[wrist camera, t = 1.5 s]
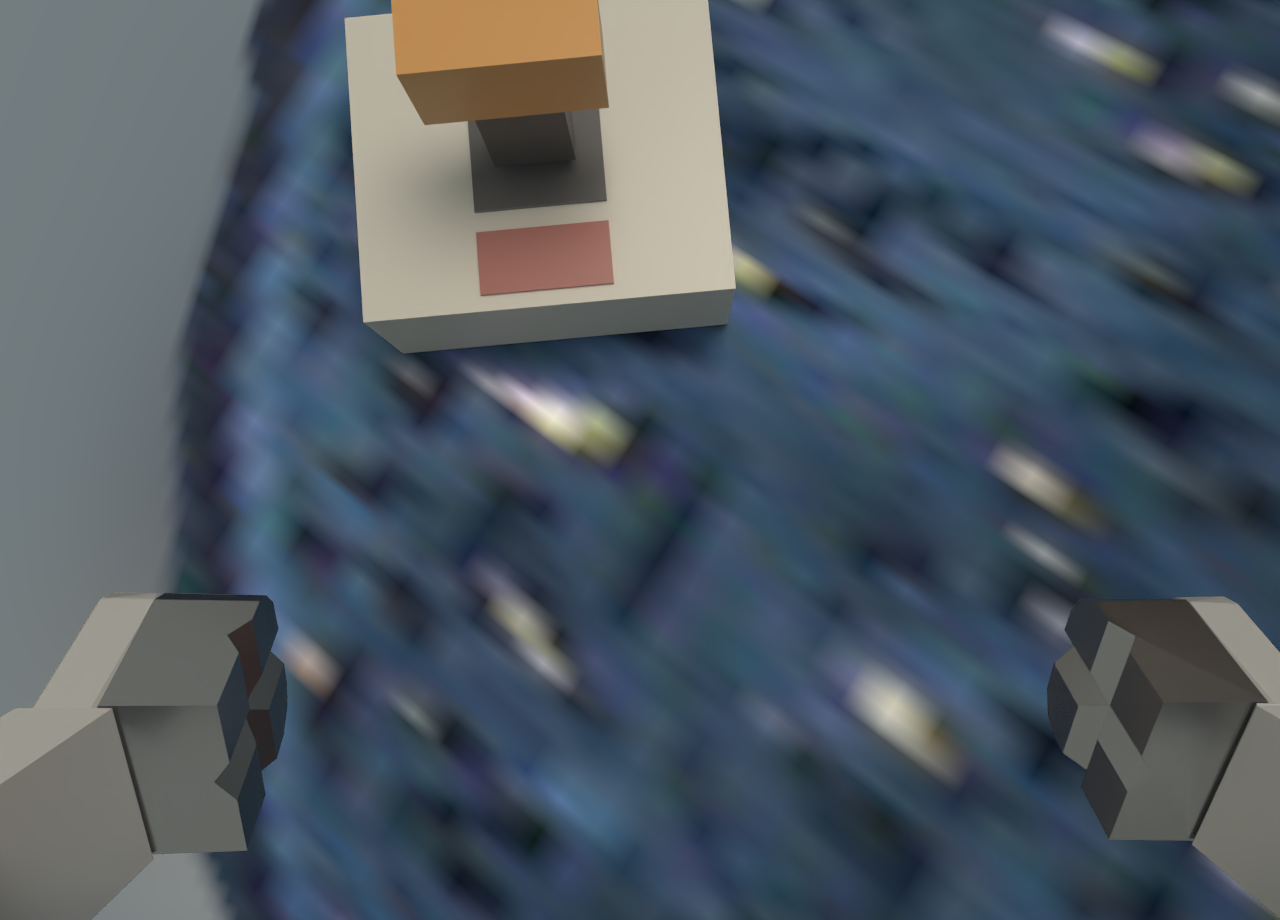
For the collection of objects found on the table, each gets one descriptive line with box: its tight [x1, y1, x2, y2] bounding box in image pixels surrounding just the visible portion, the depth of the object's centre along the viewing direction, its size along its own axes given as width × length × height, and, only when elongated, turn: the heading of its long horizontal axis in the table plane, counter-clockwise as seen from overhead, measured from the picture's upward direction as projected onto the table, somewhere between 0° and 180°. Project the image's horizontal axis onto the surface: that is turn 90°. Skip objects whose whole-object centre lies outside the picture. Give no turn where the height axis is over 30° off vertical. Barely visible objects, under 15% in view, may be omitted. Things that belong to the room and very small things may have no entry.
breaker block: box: [345, 0, 736, 354], centre depth 43 cm, size 12×14×6 cm
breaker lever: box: [391, 0, 609, 167], centre depth 35 cm, size 2×6×9 cm, turn 95°
